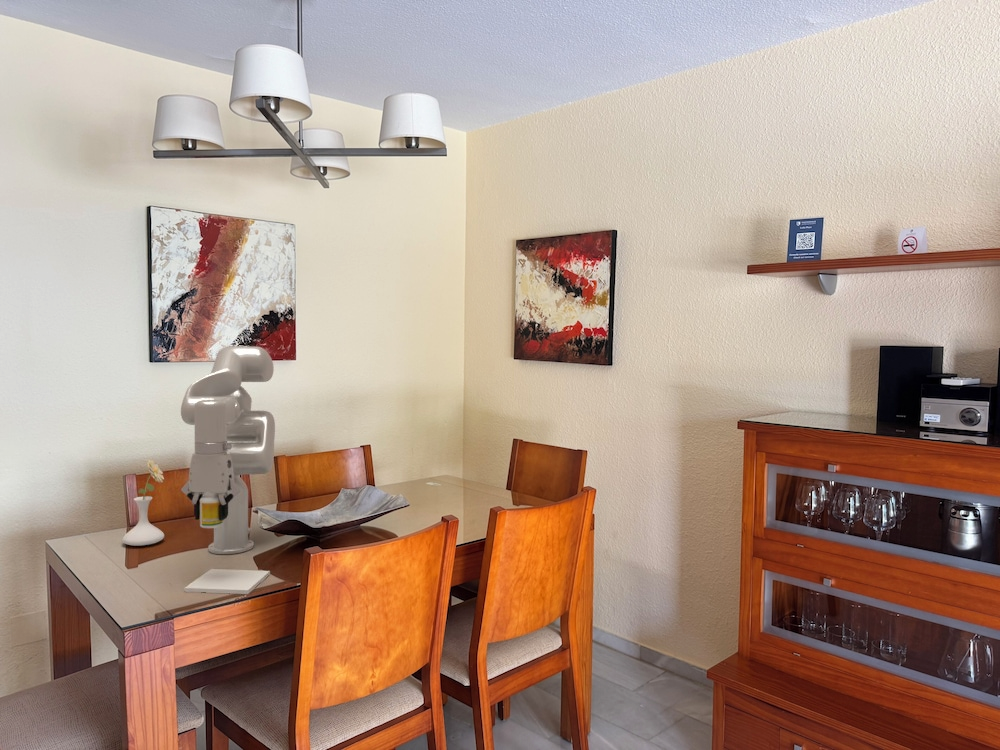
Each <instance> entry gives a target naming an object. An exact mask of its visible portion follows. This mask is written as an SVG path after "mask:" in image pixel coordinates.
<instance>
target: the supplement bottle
mask: <svg viewBox="0 0 1000 750" xmlns="http://www.w3.org/2000/svg"><path fill="white" fill-rule="evenodd" d="M202 494H203V497H202V498H201V499H200V519H199V526H200V528H203V529H214V528H216V527H219V526H221V525H222V521H223V520H222V521H220V520H219V505H221V502H220V499H219V496H218V494H213V493H209V492H208V491H207V492H206V493H202Z"/></svg>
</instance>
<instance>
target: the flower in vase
mask: <svg viewBox="0 0 1000 750" xmlns="http://www.w3.org/2000/svg"><path fill="white" fill-rule="evenodd" d="M146 465H147V469H148V471H149V473H150V475H149V476H148V478H147V481H146V484H145V487H144V488H139V490H138V492H137V493H138V494H142V495H143V496H137V497H135V498H133V500H134V502H135V503H136V505H137V508H138V515H139V516H138V522H137V523H136V525H134V527H132V528H131V529H130V530H128V532H126V534H124V535H123V537H122V539H121V541H122V542H123V544H124V545H125V544H126V545H129V546H135V547H136V546H140V547H141V546H146V545H147V546H149V545H154V544H156V543H159V542H160V541H162V540H163V539H164V538H165V534H164V532H163V531H162V530H161V529H159V528H158V527H157V526H155V525H153V524H151V523H150V521H149V519H148V512H149V511H148V510H149V505H150V502H151V501H152V500H153V497H152V496H148V495H147V496H146V493H147V492H148V491H149V492H153V491H154V490H155V487H154V485H153V484H151V483H149V480H150V479H151V477H152V478H153V480H154V481H155V482H158V483H163V482H164V481H163V480H165V478H164V477H165V476H164V475H163V474H164V472H163V471H162V470H161V469H160V467H159V464H157V463H156V464H155V461H154V460H153V459H148V461H147V464H146Z"/></svg>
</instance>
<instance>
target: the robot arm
mask: <svg viewBox="0 0 1000 750" xmlns="http://www.w3.org/2000/svg"><path fill="white" fill-rule="evenodd" d="M210 371H211V372H210V373H208V374H207V375H204V376H203V377H201V378H199V379H197V380H195V381H193V383H191V384H190V385H189V387H188V388H187V389H186V391H185V393H184V396H183V399H182V402H181V406H180V416H181V419H182V421H183V422H184V423H185V424H187V425H190V426H194V453H192V455H191V459H190V464H189V472H188V473H189V474H188V480H187V481H186V483H185V484H184V486H182V487H181V488H180V489H181V490H180V491H181V492H182V493H184V495H186V497H187V498H188V500H190V501H191V504H192V505H193V515H194V516H195V518H194V519H195V520H196V521H197V520H199V521H200V499H201V498H202V497H203V496H204V495H203V494H202V493H206V492H207V491H208V492H209V493H213V494H218V496H219V499H220V502H221V505H219V520H220V521H222V520H223V521H222V525H221V526H219V527H216V528H213V542H211V543H210V544H209V545H208V546H207V547H208V548H207V550H208V551H209V552H210V553H212V554H215V555H232V554H240V553H244V552H248V551H250V550H251V549H253V548H254V547H255V546H254V544H255V542H254V541H253V540H251V539H249V534H251V532H252V528H251V527H249V489H248V485H247V484H246V482H245V481H244V480H243V479H242V478H241V477H240V476H243V475H244V476H245V475H264V474H267V473H270V472H271V470H272V468H273V462H274V452H275V450H274V449H275V434H276V424H275V423H276V422H275V418H274V415H273V413H272V412H269V411H267V410H252V403H253V401H252V397H251V395H250V394H249V393H248V392H247V391H248V390H246V389H245V388H244V387H243V386H242V383H267V382H269V381H271V379H272V377H273V376H274V362H273V359H272V357H271V355H270V354H269V352H268V351H267V349H265V348H263V347H261V346H249V345H248V346H245V345H242V346H240V345H235V346H234V345H231V346H230V345H229V346H225V347H223V348H221V349H220V350H219V351H218V352H217V353H216V356H215V360H214V363H213V366H212V369H211V370H210Z"/></svg>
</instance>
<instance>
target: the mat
mask: <svg viewBox="0 0 1000 750" xmlns="http://www.w3.org/2000/svg"><path fill="white" fill-rule="evenodd" d="M268 575H269V576H270V575H271V571H270V570H251V569H249V570H247V569H220V568H210V569H209V570H208V571H206V572H205V573H204V574H202V575H200V576H199V577H198V578H196V579H195V580H194V581H192V582H191V583H189V584H188V585H187V586H185V587H184V590H183V592H184V593H201V592H206V593H207V594H229V593H230V594H233V595H249V594H251V592H252V591H254V590H255V589H256V588H257V587H258V586H259V585H260V584H261V583H262V582H264V581H265V580H266V579H265V578H266V577H267V576H268ZM269 576H268V577H269ZM268 577H267V578H268ZM264 579H265V580H264ZM260 582H261V583H260ZM259 583H260V584H259ZM258 584H259V585H258ZM257 585H258V586H257ZM256 586H257V587H256ZM255 587H256V588H255Z"/></svg>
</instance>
